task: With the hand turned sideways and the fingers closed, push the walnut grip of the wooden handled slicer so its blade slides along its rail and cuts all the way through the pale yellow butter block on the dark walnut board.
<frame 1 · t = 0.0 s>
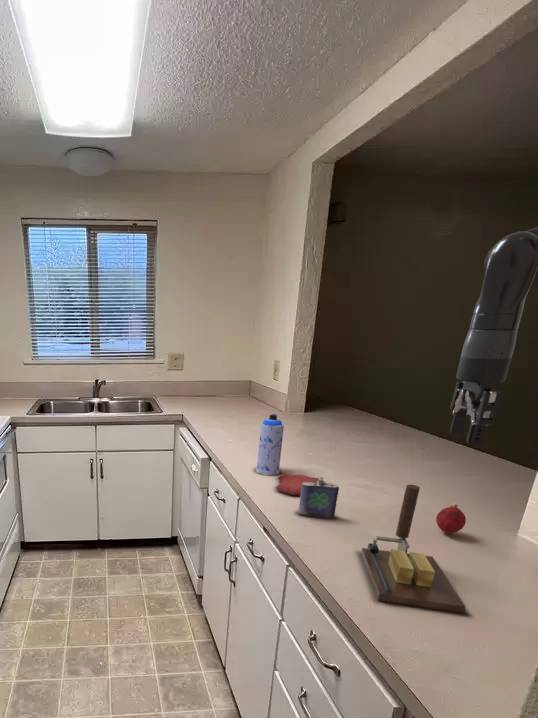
hand: (464, 438, 86), 28 cm above the countertop, tool pointing down, fingers open, 8 cm apart
aerosol can: (267, 471, 151), on the countertop
patty: (300, 487, 137), on the countertop
butter board: (406, 580, 89), on the countertop
flask: (315, 515, 118), on the countertop
onion: (446, 534, 107), on the countertop
wooden handled slicer: (393, 522, 92), point 10 cm above the countertop, slide at 0.0 cm
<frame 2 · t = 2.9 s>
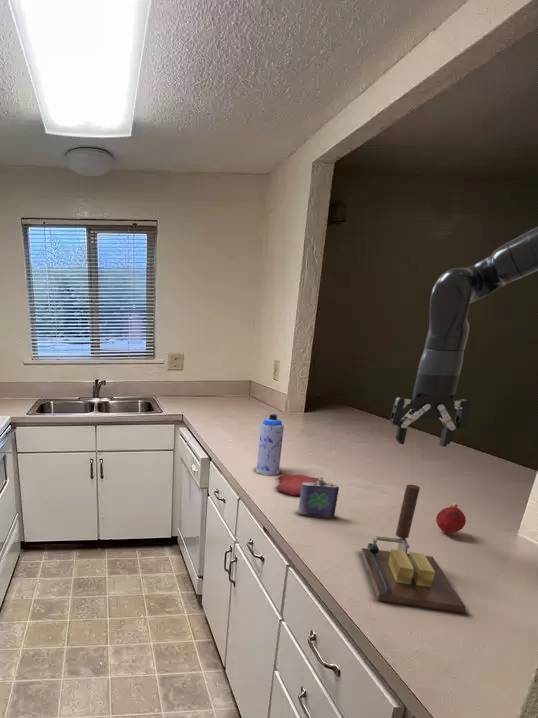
hand: (421, 444, 98), 23 cm above the countertop, tool pointing down, fingers open, 8 cm apart
nothing on the countertop moved.
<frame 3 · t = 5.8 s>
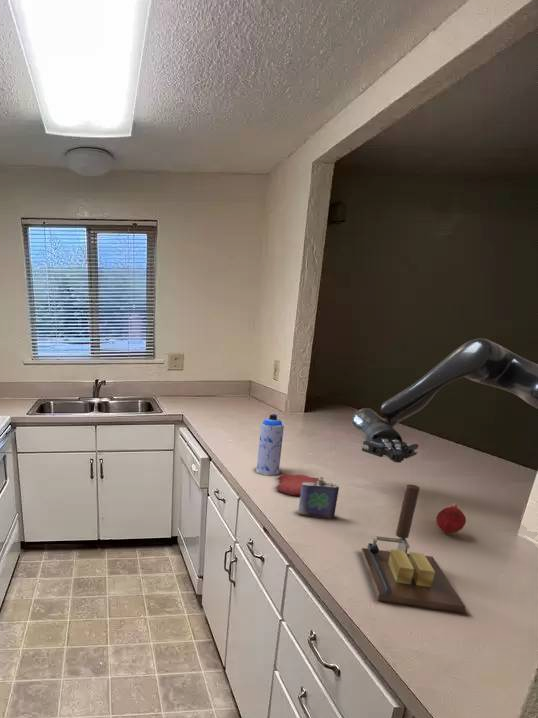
hand: (398, 458, 101), 20 cm above the countertop, tool horizontal, fingers closed
nothing on the countertop moved.
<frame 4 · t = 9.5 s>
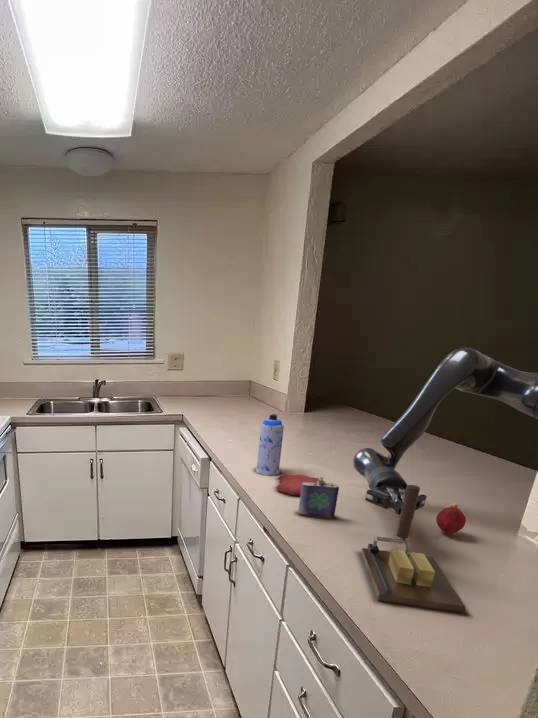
hand: (405, 513, 93), 11 cm above the countertop, tool horizontal, fingers closed
wooden handled slicer: (394, 522, 92), point 10 cm above the countertop, slide at 0.2 cm, touching gripper
everything else where it was.
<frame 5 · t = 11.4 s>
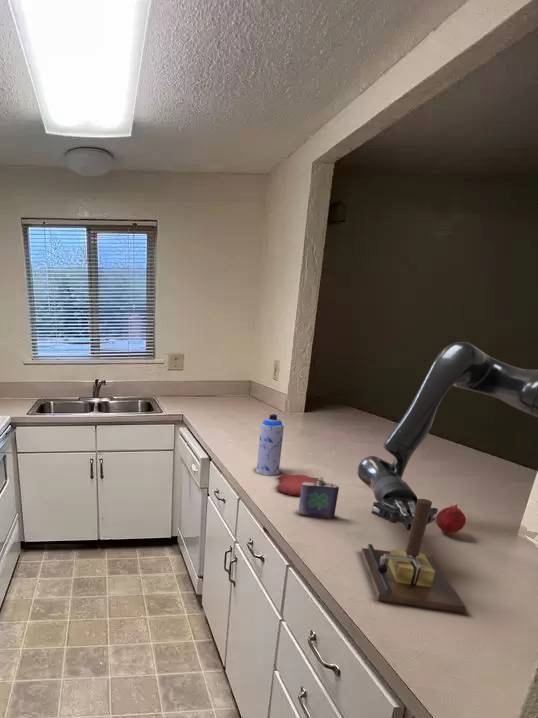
hand: (415, 529, 86), 11 cm above the countertop, tool horizontal, fingers closed
wooden handled slicer: (403, 539, 85), point 10 cm above the countertop, slide at 7.7 cm, touching gripper
everything else where it was.
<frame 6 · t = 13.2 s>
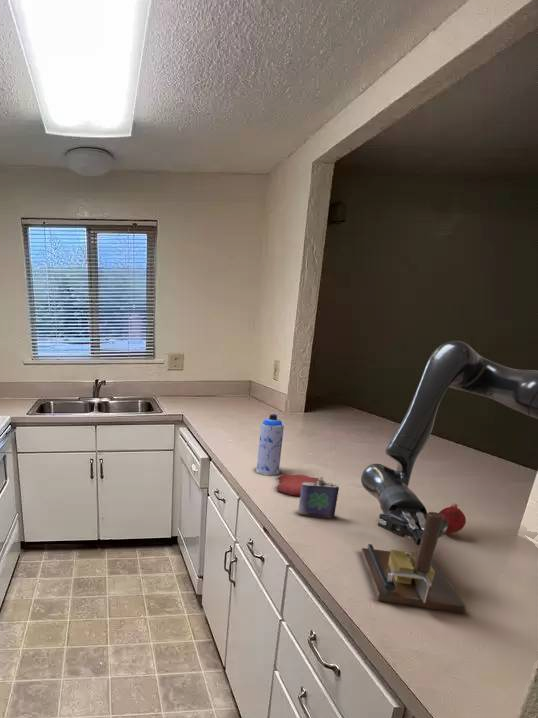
hand: (425, 544, 81), 11 cm above the countertop, tool horizontal, fingers closed
wooden handled slicer: (412, 555, 79), point 10 cm above the countertop, slide at 14.0 cm, touching gripper
everything else where it was.
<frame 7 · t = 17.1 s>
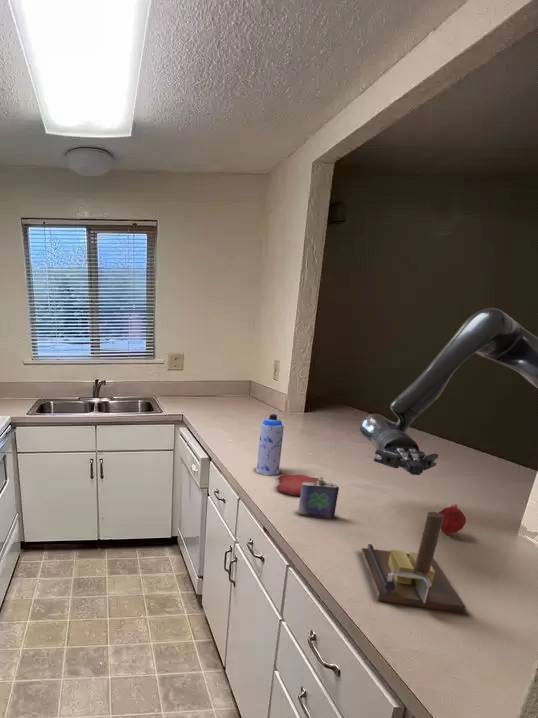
hand: (417, 470, 88), 21 cm above the countertop, tool horizontal, fingers closed
wooden handled slicer: (412, 555, 79), point 10 cm above the countertop, slide at 14.0 cm
everything else where it was.
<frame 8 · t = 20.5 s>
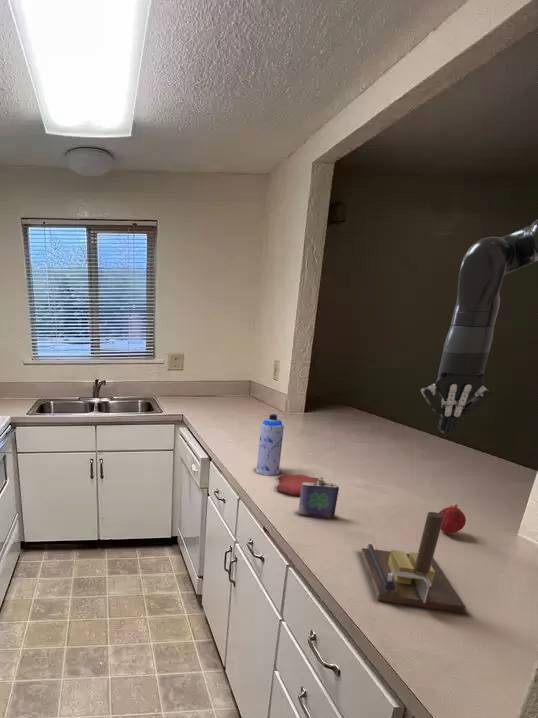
hand: (445, 432, 93), 27 cm above the countertop, tool pointing down, fingers closed
nothing on the countertop moved.
at the end: wooden handled slicer slide at 14.0 cm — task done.
